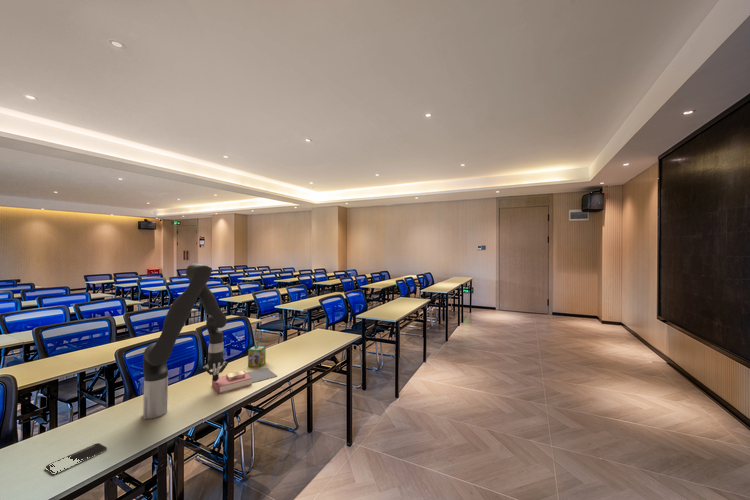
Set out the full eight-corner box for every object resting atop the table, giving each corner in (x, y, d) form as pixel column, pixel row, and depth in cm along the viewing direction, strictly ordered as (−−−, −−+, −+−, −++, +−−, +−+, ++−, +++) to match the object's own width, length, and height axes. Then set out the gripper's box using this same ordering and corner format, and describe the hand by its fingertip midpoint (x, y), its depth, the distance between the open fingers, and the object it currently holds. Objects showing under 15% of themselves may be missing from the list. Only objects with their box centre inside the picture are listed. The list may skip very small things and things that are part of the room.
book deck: (218, 393, 162) (218, 386, 162) (211, 385, 173) (212, 378, 173) (251, 384, 174) (251, 377, 174) (244, 377, 185) (244, 370, 185)
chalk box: (260, 367, 202) (261, 345, 202) (247, 366, 202) (247, 345, 202) (266, 362, 211) (266, 341, 211) (253, 362, 211) (253, 341, 212)
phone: (44, 466, 105) (98, 442, 118) (44, 469, 105) (98, 445, 118) (53, 473, 102) (108, 448, 115) (53, 476, 102) (108, 451, 115)
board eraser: (228, 381, 170) (229, 377, 170) (226, 377, 174) (226, 374, 174) (245, 376, 176) (245, 373, 176) (242, 373, 180) (242, 370, 180)
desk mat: (251, 383, 176) (251, 382, 176) (241, 374, 189) (241, 373, 189) (277, 376, 186) (277, 375, 187) (266, 368, 200) (266, 367, 200)
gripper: (204, 354, 161) (203, 386, 161) (230, 349, 170) (229, 379, 169) (201, 351, 167) (200, 382, 166) (226, 346, 175) (226, 375, 175)
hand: (215, 380), depth 168 cm, fingers closed
